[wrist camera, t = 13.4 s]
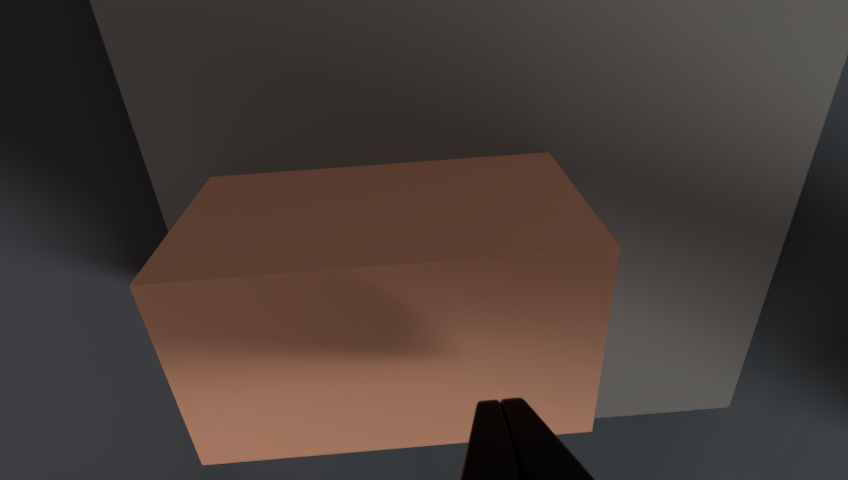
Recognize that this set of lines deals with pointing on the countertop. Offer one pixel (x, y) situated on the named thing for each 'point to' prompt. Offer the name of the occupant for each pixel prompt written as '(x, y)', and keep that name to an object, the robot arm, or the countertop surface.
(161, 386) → the countertop surface
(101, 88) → the countertop surface
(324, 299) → the block
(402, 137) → the mat
